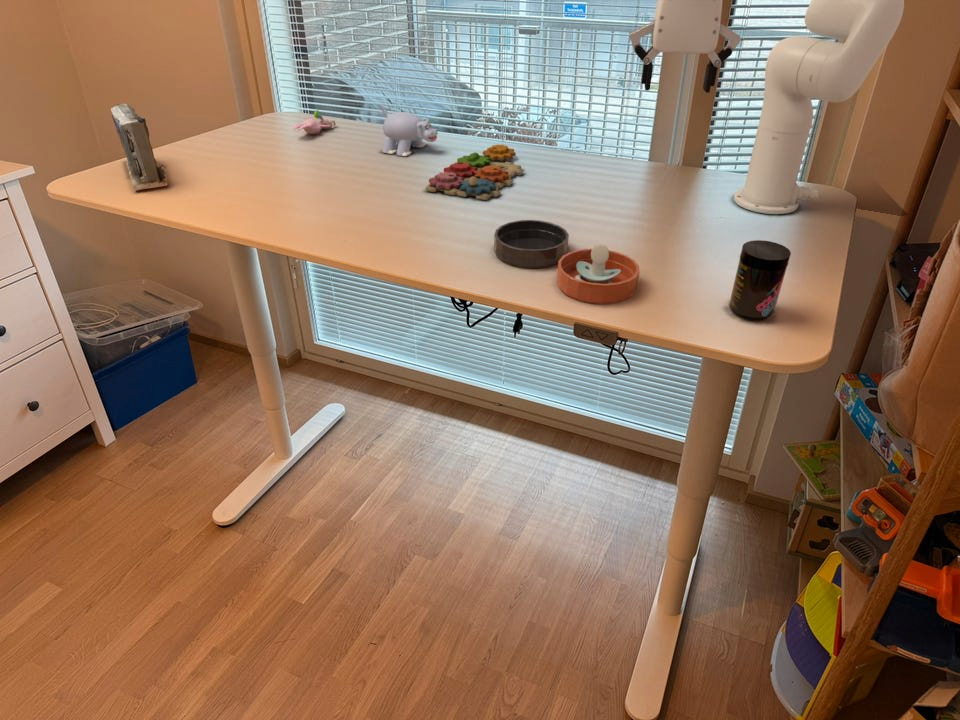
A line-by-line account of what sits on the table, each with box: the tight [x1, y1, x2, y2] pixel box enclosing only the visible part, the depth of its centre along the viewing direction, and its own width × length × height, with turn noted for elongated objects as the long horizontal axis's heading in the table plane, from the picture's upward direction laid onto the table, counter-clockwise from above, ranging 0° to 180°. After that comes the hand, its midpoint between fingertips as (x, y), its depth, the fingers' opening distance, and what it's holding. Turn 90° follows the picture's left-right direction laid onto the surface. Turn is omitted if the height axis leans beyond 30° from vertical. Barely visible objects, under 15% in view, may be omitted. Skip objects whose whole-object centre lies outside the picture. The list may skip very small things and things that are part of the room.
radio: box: [110, 103, 169, 191], centre depth 153 cm, size 23×9×15 cm, turn 23°
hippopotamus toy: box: [379, 107, 439, 157], centre depth 170 cm, size 11×15×10 cm
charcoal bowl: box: [493, 219, 570, 269], centre depth 123 cm, size 13×13×4 cm
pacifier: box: [575, 243, 621, 284], centre depth 112 cm, size 7×6×6 cm
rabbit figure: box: [292, 109, 337, 135], centre depth 182 cm, size 6×6×15 cm
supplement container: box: [728, 239, 792, 322], centre depth 104 cm, size 7×7×10 cm
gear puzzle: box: [425, 144, 524, 201], centre depth 156 cm, size 31×16×4 cm, turn 157°
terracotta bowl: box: [556, 248, 641, 305], centre depth 113 cm, size 13×13×4 cm
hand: (676, 89), depth 115 cm, fingers open, 9 cm apart
